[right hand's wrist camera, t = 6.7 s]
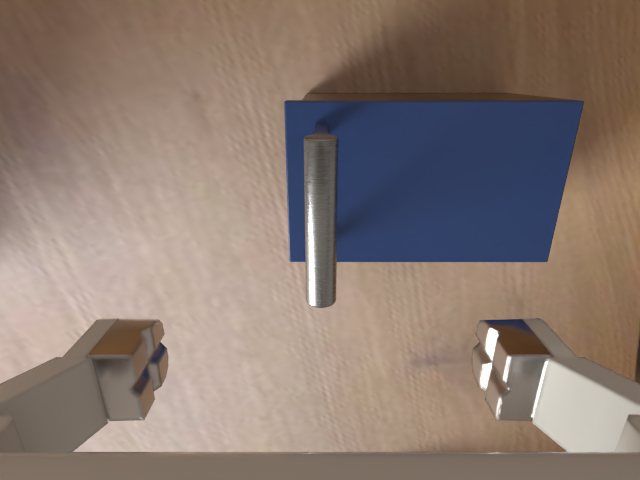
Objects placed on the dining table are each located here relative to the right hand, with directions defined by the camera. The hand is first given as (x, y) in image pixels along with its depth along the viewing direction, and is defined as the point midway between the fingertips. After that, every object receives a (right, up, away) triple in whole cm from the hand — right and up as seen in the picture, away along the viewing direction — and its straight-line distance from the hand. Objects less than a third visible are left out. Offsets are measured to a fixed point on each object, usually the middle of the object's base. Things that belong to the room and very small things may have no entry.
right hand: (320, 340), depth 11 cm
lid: (+6, +6, +15) cm, 17 cm away
